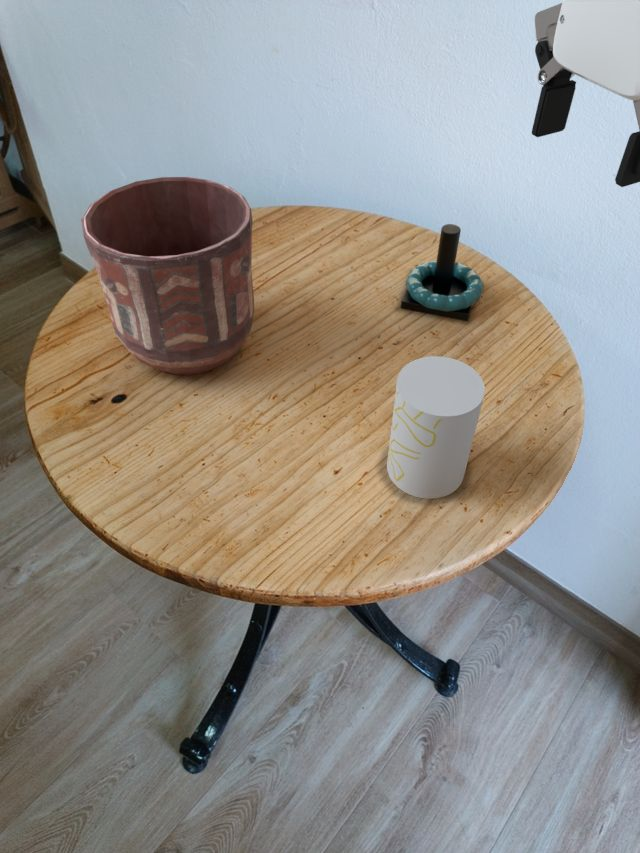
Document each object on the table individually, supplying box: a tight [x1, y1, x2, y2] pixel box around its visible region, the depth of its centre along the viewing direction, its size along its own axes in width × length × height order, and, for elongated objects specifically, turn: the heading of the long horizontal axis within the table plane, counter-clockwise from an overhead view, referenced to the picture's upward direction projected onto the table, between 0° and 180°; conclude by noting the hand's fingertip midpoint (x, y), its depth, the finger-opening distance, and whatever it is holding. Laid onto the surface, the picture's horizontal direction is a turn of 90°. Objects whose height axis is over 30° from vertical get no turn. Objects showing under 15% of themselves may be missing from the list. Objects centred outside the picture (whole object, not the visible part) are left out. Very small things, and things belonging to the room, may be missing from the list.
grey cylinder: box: [386, 355, 486, 500], centre depth 68 cm, size 8×8×12 cm
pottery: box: [80, 176, 255, 376], centre depth 80 cm, size 18×18×18 cm
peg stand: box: [400, 223, 473, 322], centre depth 90 cm, size 9×9×10 cm
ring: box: [405, 260, 484, 312], centre depth 92 cm, size 10×10×2 cm
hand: (587, 156), depth 56 cm, fingers open, 9 cm apart
